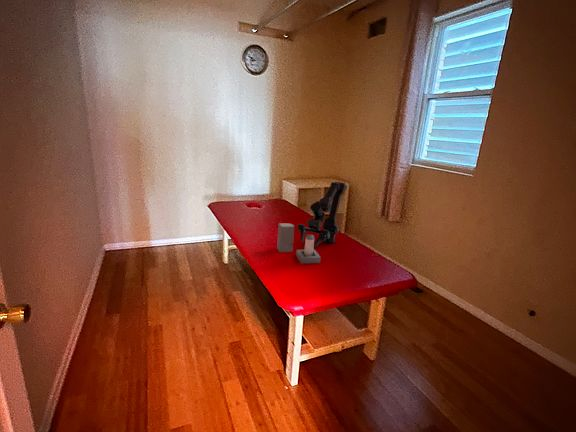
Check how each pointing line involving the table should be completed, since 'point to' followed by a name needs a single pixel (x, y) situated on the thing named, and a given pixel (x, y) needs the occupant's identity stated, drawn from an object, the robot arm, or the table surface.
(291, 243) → the skincare box
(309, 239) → the grey round-top peg
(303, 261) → the jig
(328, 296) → the table surface
